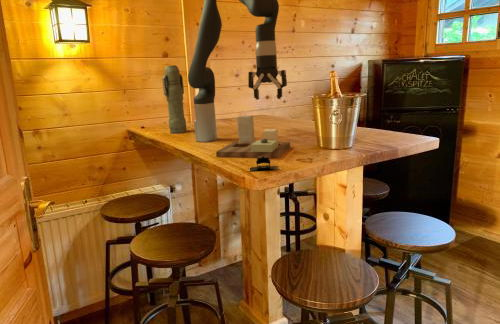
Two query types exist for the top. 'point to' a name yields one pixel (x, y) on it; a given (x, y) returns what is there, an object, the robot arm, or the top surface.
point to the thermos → (174, 99)
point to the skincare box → (246, 128)
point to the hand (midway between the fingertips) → (268, 99)
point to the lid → (264, 146)
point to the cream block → (271, 135)
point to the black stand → (263, 168)
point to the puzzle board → (245, 150)
